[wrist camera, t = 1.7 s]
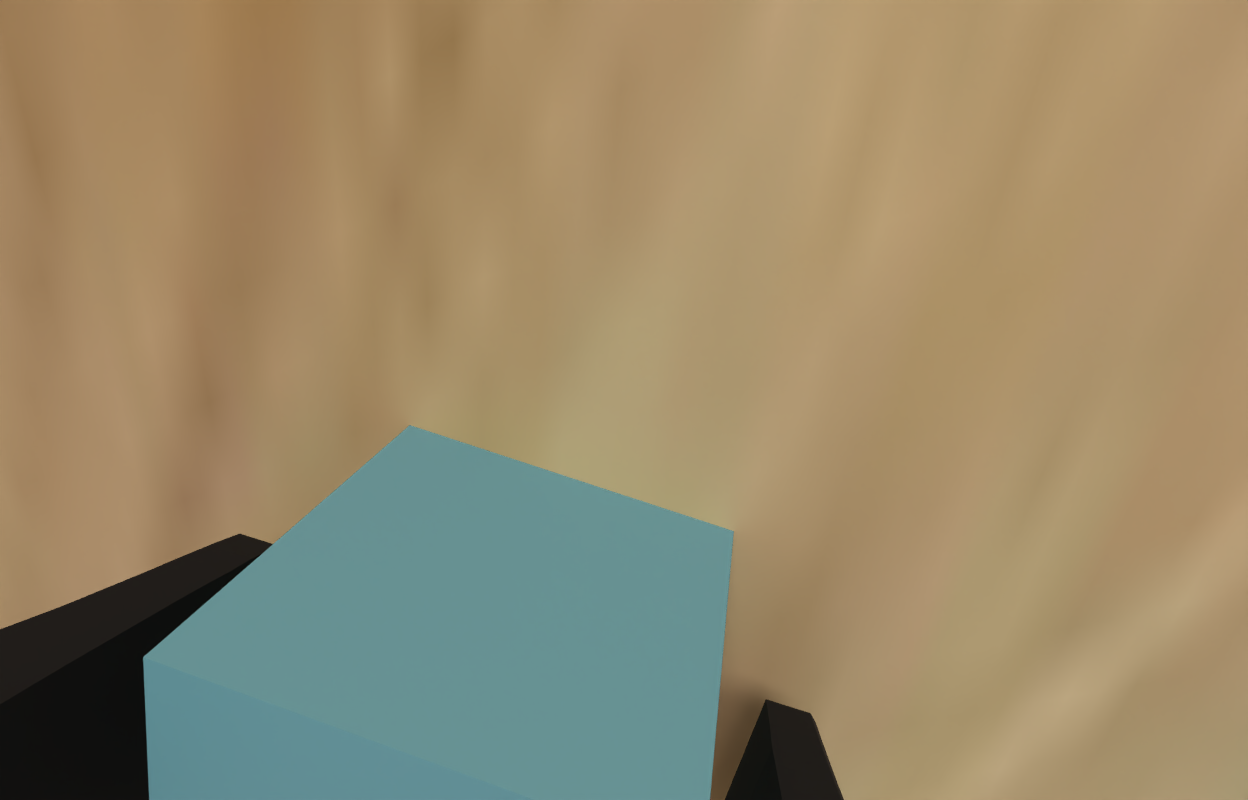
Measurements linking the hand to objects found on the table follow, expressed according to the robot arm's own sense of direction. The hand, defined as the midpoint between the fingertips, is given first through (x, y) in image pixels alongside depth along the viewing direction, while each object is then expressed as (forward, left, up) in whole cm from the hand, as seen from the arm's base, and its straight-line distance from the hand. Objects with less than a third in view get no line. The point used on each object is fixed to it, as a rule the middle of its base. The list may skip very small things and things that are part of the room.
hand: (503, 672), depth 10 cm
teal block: (0, 0, -2) cm, 2 cm away
